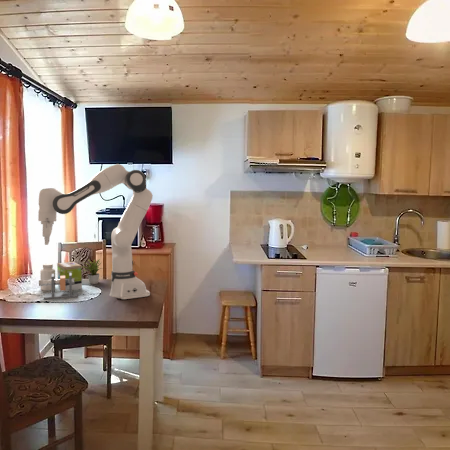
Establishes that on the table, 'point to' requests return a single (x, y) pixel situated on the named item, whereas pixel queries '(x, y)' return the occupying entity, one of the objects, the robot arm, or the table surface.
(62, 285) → the spacer
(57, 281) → the shaft
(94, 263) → the house plant
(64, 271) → the tea box
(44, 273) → the pill bottle
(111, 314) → the table surface
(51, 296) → the grey post stand
